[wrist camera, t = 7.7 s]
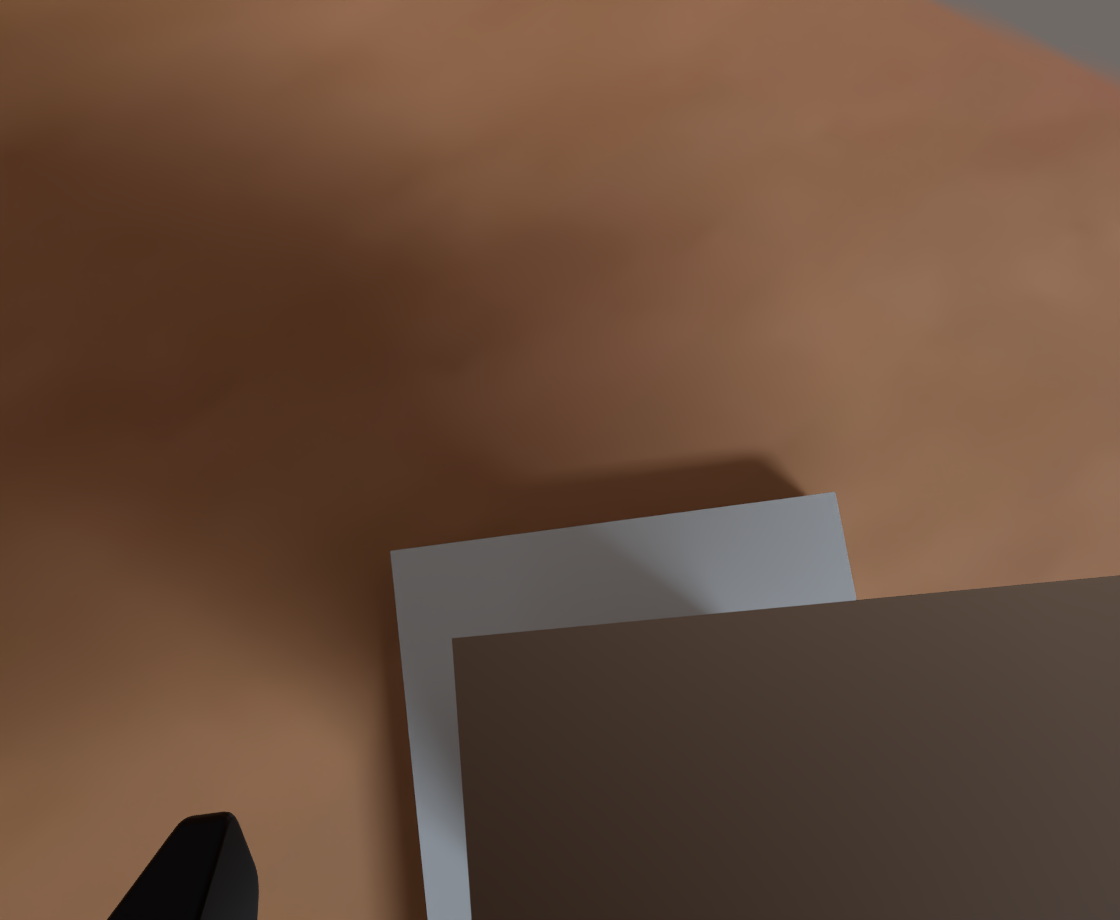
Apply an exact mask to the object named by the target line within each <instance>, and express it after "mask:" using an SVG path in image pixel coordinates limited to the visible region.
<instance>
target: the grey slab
mask: <svg viewBox="0 0 1120 920" xmlns="http://www.w3.org/2000/svg"><path fill="white" fill-rule="evenodd" d="M390 554H391V564H392V573H393V583H394V593H395V603H396V613H397V623H398V633H399V642H400V652H401V662H402V672H403V682H404V692H405V701H406V711H407V721H408V731H409V741H410V751H411V761H412V770H413V780H414V790H415V800H416V810H417V820H418V830H419V839H420V849H421V859H422V869H423V879H424V889H425V898H426V908H427V918H428V920H471V905H470V891H469V877H468V863H467V848H466V834H465V820H464V805H463V791H462V777H461V762H460V748H459V734H458V719H457V705H456V691H455V676H454V662H453V648H452V638H460V637H470V636H481V635H492V634H502V633H513V632H524V631H534V630H545V629H555V628H566V627H577V626H587V625H598V624H609V623H619V622H630V621H641V620H651V619H662V618H673V617H683V616H694V615H705V614H715V613H726V612H736V611H747V610H758V609H768V608H779V607H790V606H800V605H811V604H822V603H832V602H843V601H854V600H857V599H856V594H855V589H854V584H853V579H852V574H851V569H850V564H849V559H848V554H847V549H846V544H845V539H844V534H843V529H842V524H841V519H840V513H839V508H838V503H837V498H836V493H835V492H831V493H823V494H815V495H808V496H800V497H793V498H785V499H778V500H770V501H763V502H755V503H748V504H740V505H733V506H725V507H717V508H710V509H702V510H695V511H687V512H680V513H672V514H665V515H657V516H650V517H642V518H635V519H627V520H620V521H612V522H604V523H597V524H589V525H582V526H574V527H567V528H559V529H552V530H544V531H537V532H529V533H522V534H514V535H506V536H499V537H491V538H484V539H476V540H469V541H461V542H454V543H446V544H439V545H431V546H424V547H416V548H408V549H401V550H393V551H390Z"/></svg>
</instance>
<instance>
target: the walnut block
mask: <svg viewBox="0 0 1120 920" xmlns="http://www.w3.org/2000/svg"><path fill="white" fill-rule="evenodd" d="M452 648H453V662H454V676H455V691H456V705H457V719H458V734H459V748H460V762H461V777H462V791H463V805H464V820H465V834H466V848H467V863H468V877H469V891H470V905H471V920H1120V576H1109V577H1098V578H1088V579H1077V580H1066V581H1056V582H1045V583H1034V584H1024V585H1013V586H1003V587H992V588H981V589H971V590H960V591H949V592H939V593H928V594H917V595H907V596H896V597H885V598H875V599H864V600H854V601H843V602H832V603H822V604H811V605H800V606H790V607H779V608H768V609H758V610H747V611H736V612H726V613H715V614H705V615H694V616H683V617H673V618H662V619H651V620H641V621H630V622H619V623H609V624H598V625H587V626H577V627H566V628H555V629H545V630H534V631H524V632H513V633H502V634H492V635H481V636H470V637H460V638H452Z"/></svg>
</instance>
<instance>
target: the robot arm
mask: <svg viewBox="0 0 1120 920" xmlns="http://www.w3.org/2000/svg"><path fill="white" fill-rule="evenodd" d="M258 898H259V886H258V875H257V870H256V867H255V864H254V861H253V859H252V856H251V854H250V851H249V848H248V846H247V843H246V841H245V838H244V835H243V833H242V830H241V828H240V825H239V823H238V821H237V819H236V817H235V816H234V815H233V814H232V813H230V812H218V813H210V814H202V815H194V816H190V817H187V818H186V819H184V820H183V821H181V822H180V823H179V824H178V825H177V826H176V828H175V829H174V830H173V832H172V833H171V834H170V836H169V837H168V838H167V840H166V841H165V842H164V844H163V845H162V846H161V848H160V849H159V850H158V852H157V853H156V855H155V856H154V857H153V859H152V860H151V861H150V863H149V864H148V865H147V867H146V868H145V869H144V871H143V872H142V873H141V875H140V876H139V877H138V879H137V880H136V881H135V883H134V884H133V885H132V887H131V888H130V890H129V891H128V892H127V894H126V895H125V896H124V898H123V899H122V900H121V902H120V903H119V904H118V906H117V907H116V908H115V910H114V911H113V912H112V914H111V915H110V916H109V918H108V919H107V920H257V915H258Z"/></svg>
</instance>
